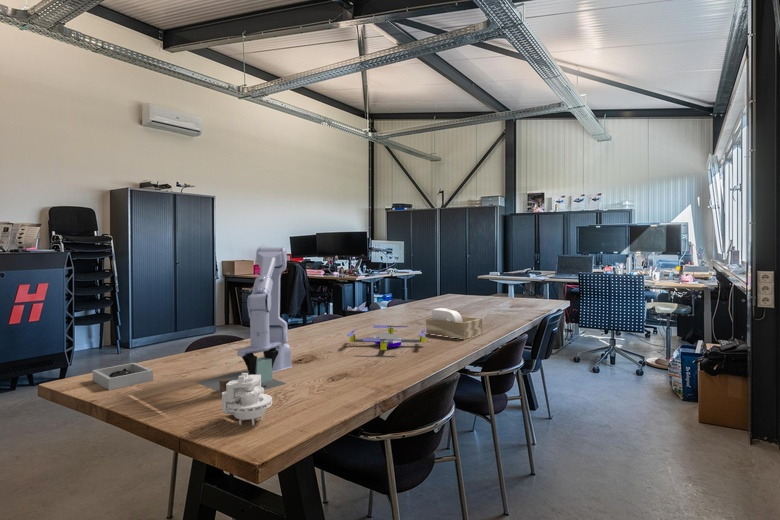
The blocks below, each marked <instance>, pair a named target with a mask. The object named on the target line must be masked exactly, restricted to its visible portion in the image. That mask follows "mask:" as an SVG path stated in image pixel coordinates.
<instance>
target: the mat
mask: <svg viewBox="0 0 780 520" xmlns="http://www.w3.org/2000/svg"><path fill="white" fill-rule="evenodd" d="M242 373H248V369H247V370H242V371H239V372H238V371H237V372H235V373H229V374H226V375H225V374H224V375H222V376H216V377H213V378H208V379H204V380H200V381H199V380H198V381H196V383H197V384H199V385H202V386H205V387H206V388H209V389H211V390H214V391H217V392H219V393H221V394H222V393H223V391H220V384H219V380H223V379H230V380H232V381H234V380H238V377H239V376H242ZM287 384H288V383H287V382H284V381H281V380H277V379H275V378H272V380H270V381H267V386H265V387H263V388H264V391H265V390H269V389H272V388H276V387H278V386H279V387H280V386H282V385H287Z"/></svg>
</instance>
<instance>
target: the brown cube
mask: <svg viewBox="0 0 780 520" xmlns="http://www.w3.org/2000/svg"><path fill="white" fill-rule="evenodd" d="M230 381H232V380H230V379H223V380H219V384H220V391H223V392H225V391H226V384H227V383H228V382H230Z"/></svg>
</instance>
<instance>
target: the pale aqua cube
mask: <svg viewBox="0 0 780 520" xmlns="http://www.w3.org/2000/svg"><path fill="white" fill-rule="evenodd" d="M248 375H249V372H248ZM256 375H261V383H263V382H267V381H270V380H272V379H273V372H272V359H270V358H265V357H263V356H261V357H257V360H256Z"/></svg>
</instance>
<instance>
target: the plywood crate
mask: <svg viewBox="0 0 780 520" xmlns="http://www.w3.org/2000/svg"><path fill="white" fill-rule="evenodd" d="M461 317H462V322H463V323H461V322H453V321H444V320H436V319H432V317H428V318H426V319H425V334H426V333H428V334H435V335H442V336H448V337H455V338H462V339H466V338H469V337H472V336H475V335H478V334H481V333H482V334H483V318H480V317H479V318H477V317H471V316H470V317H469V316H463V315H461Z"/></svg>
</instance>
